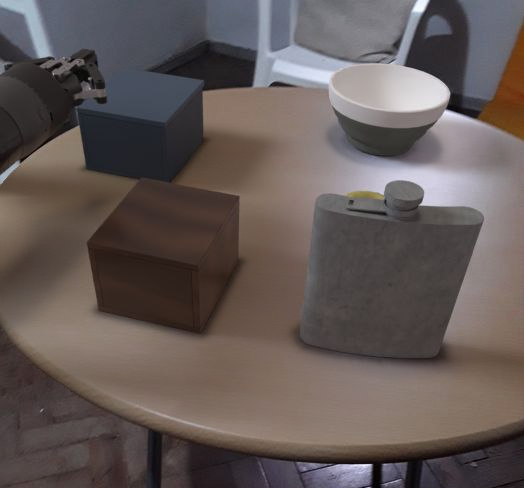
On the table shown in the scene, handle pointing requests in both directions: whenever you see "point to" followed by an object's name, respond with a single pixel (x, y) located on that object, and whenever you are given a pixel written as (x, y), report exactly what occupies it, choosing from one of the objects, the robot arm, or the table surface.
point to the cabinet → (166, 253)
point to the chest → (142, 143)
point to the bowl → (386, 105)
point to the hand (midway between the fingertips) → (90, 57)
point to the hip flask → (385, 272)
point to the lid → (144, 97)
